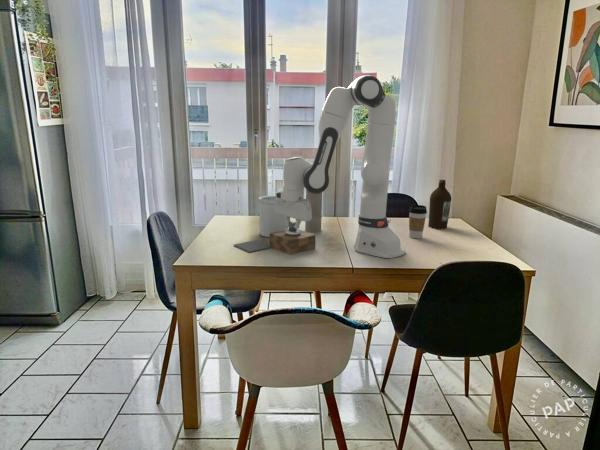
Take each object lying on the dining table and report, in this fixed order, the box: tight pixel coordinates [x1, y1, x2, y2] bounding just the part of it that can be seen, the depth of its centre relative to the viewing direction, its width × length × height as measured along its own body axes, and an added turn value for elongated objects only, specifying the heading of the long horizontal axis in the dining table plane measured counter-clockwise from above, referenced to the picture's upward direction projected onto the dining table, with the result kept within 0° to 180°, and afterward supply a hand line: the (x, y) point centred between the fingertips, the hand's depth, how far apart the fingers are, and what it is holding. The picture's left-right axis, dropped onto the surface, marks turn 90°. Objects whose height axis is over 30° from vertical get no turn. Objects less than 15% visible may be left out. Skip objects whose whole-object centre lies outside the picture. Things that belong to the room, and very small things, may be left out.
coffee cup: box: [408, 204, 428, 239], centre depth 205 cm, size 8×8×15 cm
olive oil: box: [427, 179, 452, 230], centre depth 223 cm, size 11×11×25 cm
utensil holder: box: [258, 195, 289, 238], centre depth 204 cm, size 15×15×18 cm
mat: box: [233, 239, 274, 254], centre depth 186 cm, size 12×12×1 cm
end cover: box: [285, 221, 301, 236], centre depth 185 cm, size 6×6×9 cm
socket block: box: [269, 228, 317, 255], centre depth 185 cm, size 14×14×6 cm
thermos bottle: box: [304, 188, 323, 233], centre depth 212 cm, size 8×8×28 cm
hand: (292, 227), depth 184 cm, fingers closed on end cover, 3 cm apart
